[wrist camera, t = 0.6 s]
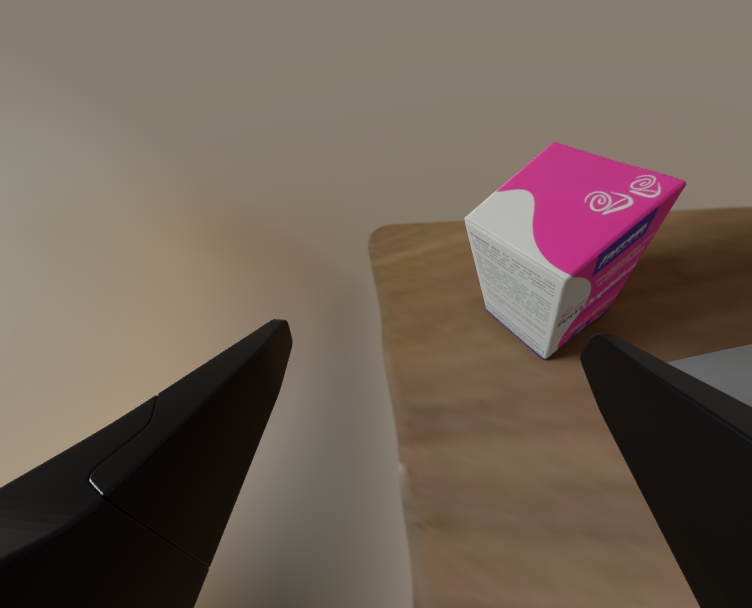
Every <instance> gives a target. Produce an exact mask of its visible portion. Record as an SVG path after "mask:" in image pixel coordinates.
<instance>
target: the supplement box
mask: <svg viewBox="0 0 752 608" xmlns="http://www.w3.org/2000/svg"><path fill="white" fill-rule="evenodd" d="M685 186H686V182H685V181H683V180H680V179H677V178H674V177H672V176H668V175H665V174H661V173H658V172H654V171H651V170H647V169H643V168H639V167H636V166H632V165H628V164H624V163H621V162H617V161H614V160H610V159H607V158H604V157H601V156H598V155H594V154H591V153H587V152H584V151H582V150H578V149H575V148H572V147H568V146H565V145H562V144H559V143H556V142H554V143H552V144H550V145H549V146H548V147H547V148H546V149H545V150H543V151H542V152H541V153H540V154H539V155H538V156H536V157H535V158H534V159H533V160H532V161H530V162H529V163H528V164H527V165H526V166H525V167H523V168H522V169H521V170H520V171H519V172H518V173H516V174H515V175H514V176H513V177H512V178H511V179H509V180H508V181H507V182H506V183H505V184H504V185H503V186H501V187H500V188H499V189H498V190H497V191H496V192H494V193H493V194H492V195H491V196H490V197H488V198H487V199H486V200H485V201H484V202H483V203H482V204H480V205H479V206H478V207H477V208H476V209H474V211H472V212H471V213H470V214H469V215H467V216H466V217H465V224H466V228H467V232H468V236H469V240H470V244H471V248H472V252H473V256H474V260H475V264H476V268H477V272H478V277H479V281H480V285H481V289H482V293H483V297H484V301H485V305H486V309H487V311H488V312H489V313H490V314H491V315H492V316H493V317H494V318H496V319H497V320H498V321H499V322H500V323H501V324H503V325H504V326H505V327H506V328H507V329H508V330H510V331H511V332H512V333H513V334H514V335H515V336H516V337H518V338H519V339H520V340H521V341H522V342H523V343H524V344H525V345H526V346H528V347H529V348H530V349H531V350H532V351H533V352H535V353H536V354H537V355H538V356H539V357H540V358H542V359H543V360H547V359H548V358H549V357H550V356H551V355H552V354H554V353H555V352H556V351H557V350H558V349H559V348H560V347H561V346H562V345H564V344H565V343H566V342H567V341H568V340H570V339H571V338H572V337H574V336H575V335H576V334H577V333H579V332H580V331H581V330H582V329H584V328H585V327H586V326H587V325H589V324H590V323H591V322H592V321H594V320H595V319H596V318H598V317H599V316H601V315H602V314H603V313H605V312H606V311H607V310H608V309H609V308H610V306H611V305H612V303H613V301H614V300H615V298H616V296H617V295H618V293H619V292H620V290H621V288H622V287H623V285H624V284H625V282H626V280H627V279H628V277H629V275H630V274H631V272H632V271H633V269H634V268H635V266H636V264H637V263H638V261H639V259H640V257H641V256H642V254H643V253H644V251H645V249H646V248H647V246H648V245H649V243H650V241H651V240H652V238H653V237H654V235H655V233H656V232H657V230H658V229H659V227H660V225H661V224H662V222H663V221H664V219H665V217H666V216H667V214H668V212H669V211H670V209H671V208H672V206H673V204H674V203H675V201H676V200H677V198H678V196H679V195H680V193H681V192H682V190H683V189H684V187H685Z"/></svg>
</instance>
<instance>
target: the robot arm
mask: <svg viewBox="0 0 752 608" xmlns="http://www.w3.org/2000/svg"><path fill="white" fill-rule="evenodd" d="M291 349H292V336H291V332H290V329H289V325H288V322H287V321H286V320H280V319H273V320H271V321H270V322H268V323H266V324H265V325H263V326H262V327H260V328H259V329H257V330H256V331H254V332H253V333H251V334H250V335H248V336H246V337H245V338H243V339H242V340H240V341H239V342H237V343H236V344H234V345H233V346H231V347H230V348H228V349H227V350H225V351H223V352H222V353H220V354H219V355H217V356H216V357H214V358H213V359H211V360H209V361H208V362H206V363H205V364H203V365H202V366H200V367H199V368H197V369H196V370H194V371H192V372H191V373H189V374H188V375H186V376H185V377H183V378H182V379H181V380H179V381H177V382H176V383H174V384H172V385H171V386H169V387H168V388H166V389H165V390H163V391H162V392H160V393H159V394H158V396H154V397H152V398H151V399H149V400H148V401H146V402H145V403H143V404H141V405H140V406H138V407H137V408H135V409H134V410H132V411H130V412H129V413H127V414H126V415H124V416H122V417H121V418H119V419H118V420H116V421H114V422H113V423H111V424H109V425H108V426H106V427H104V428H103V429H101V430H99V431H98V432H96V433H94V434H93V435H92V436H89V437H88V438H86V439H84V440H82V441H81V442H79V443H77V444H76V445H74V446H72V447H70V448H69V449H67V450H65V451H63V452H62V453H60V454H58V455H56V456H55V457H53V458H51V459H50V460H48V461H46V462H44V463H43V464H41V465H39V466H37V467H36V468H34V469H32V470H30V471H29V472H27V473H25V474H24V475H22V476H20V477H18V478H17V479H15V480H13V481H11V482H10V483H8V484H6V485H5V486H3V487H1V488H0V608H194V606H195V603H196V601H197V598H198V596H199V593H200V591H201V588H202V586H203V583H204V581H205V578H206V576H207V573H208V571H209V567H210V565H211V563H212V560H213V558H214V555H215V553H216V550H217V548H218V545H219V543H220V540H221V538H222V535H223V533H224V530H225V528H226V525H227V523H228V520H229V517H230V515H231V512H232V510H233V508H234V505H235V503H236V500H237V498H238V495H239V493H240V490H241V487H242V485H243V482H244V480H245V477H246V475H247V472H248V470H249V467H250V465H251V462H252V460H253V457H254V455H255V452H256V450H257V447H258V445H259V442H260V440H261V437H262V435H263V432H264V430H265V427H266V425H267V422H268V420H269V417H270V415H271V412H272V410H273V407H274V405H275V402H276V400H277V397H278V394H279V392H280V388H281V385H282V382H283V378H284V374H285V371H286V367H287V363H288V359H289V356H290V352H291ZM580 360H581V364H582V366H583V369H584V371H585V374H586V377H587V379H588V382H589V384H590V387H591V390H592V392H593V395H594V397H595V400H596V402H597V405H598V407H599V410H600V412H601V414H602V416H603V418H604V420H605V422H606V424H607V426H608V428H609V430H610V432H611V434H612V436H613V438H614V440H615V442H616V444H617V445H618V447H619V449H620V451H621V453H622V455H623V457H624V459H625V461H626V463H627V465H628V467H629V469H630V471H631V473H632V475H633V477H634V479H635V481H636V483H637V485H638V487H639V488H640V490H641V492H642V494H643V496H644V498H645V500H646V502H647V504H648V506H649V508H650V510H651V512H652V514H653V516H654V518H655V520H656V522H657V524H658V526H659V528H660V530H661V532H662V533H663V535H664V537H665V539H666V541H667V543H668V545H669V547H670V549H671V551H672V553H673V555H674V557H675V559H676V561H677V563H678V565H679V567H680V569H681V571H682V573H683V575H684V576H685V578H686V580H687V582H688V584H689V586H690V588H691V590H692V592H693V594H694V596H695V598H696V600H697V602H698V604H699V606H700V608H752V407H751V406H749V405H747V404H745V403H743V402H741V401H739V400H737V399H735V398H734V397H732V396H730V395H728V394H726V393H724V392H722V391H720V390H718V389H716V388H714V387H712V386H710V385H709V384H707V383H705V382H703V381H701V380H699V379H697V378H695V377H693V376H691V375H689V374H687V373H685V372H684V371H682V370H680V369H678V368H676V367H674V366H672V365H670V364H668V363H666V362H664V361H662V360H660V359H659V358H657V357H655V356H653V355H651V354H649V353H647V352H645V351H643V350H641V349H639V348H637V347H635V346H634V345H632V344H630V343H628V342H626V341H624V340H622V339H620V338H618V337H616V336H614V335H611V334H594V335H593V336H592V337H591V338H590V340H589V341H588V343H587V345H586V346H585V348H584V349H583V351H582V353H581V356H580Z"/></svg>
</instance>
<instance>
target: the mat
mask: <svg viewBox="0 0 752 608" xmlns="http://www.w3.org/2000/svg"><path fill="white" fill-rule="evenodd" d="M666 363H668V364H670V365H672V366H674V367H676V368H678V369H680V370H682V371H684V372H685V373H687V374H689V375H691V376H693V377H695V378H697V379H699V380H701V381H703V382H705V383H707V384H709V385H710V386H712V387H714V388H716V389H718V390H720V391H722V392H724V393H726V394H728V395H730V396H732V397H734V398H735V399H737V400H739V401H741V402H743V403H745V404H747V405H749V406H751V407H752V344H749V345H744V346H739V347H735V348H730V349H726V350H721V351H716V352H712V353H707V354H702V355H698V356H693V357H689V358H684V359H679V360H675V361H670V362H666Z"/></svg>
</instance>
